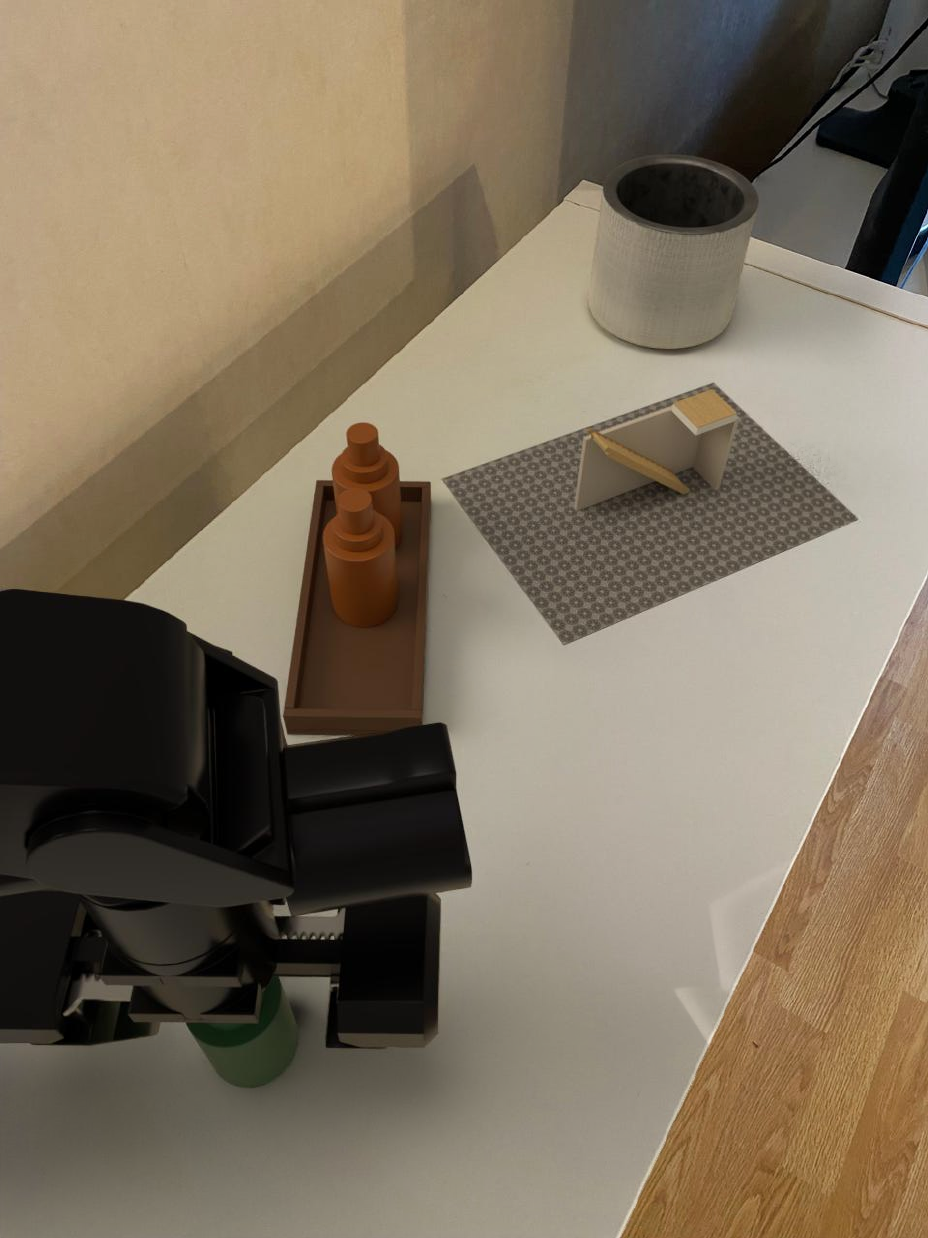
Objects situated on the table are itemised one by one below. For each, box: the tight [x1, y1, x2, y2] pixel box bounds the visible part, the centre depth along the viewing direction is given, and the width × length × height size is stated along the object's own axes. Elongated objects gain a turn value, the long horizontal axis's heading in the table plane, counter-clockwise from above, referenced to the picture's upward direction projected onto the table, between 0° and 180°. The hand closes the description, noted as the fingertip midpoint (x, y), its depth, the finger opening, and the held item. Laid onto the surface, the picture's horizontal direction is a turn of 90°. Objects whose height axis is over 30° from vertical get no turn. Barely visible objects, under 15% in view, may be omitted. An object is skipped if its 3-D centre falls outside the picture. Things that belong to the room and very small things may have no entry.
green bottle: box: [185, 977, 299, 1089], centre depth 47 cm, size 4×4×10 cm
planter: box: [587, 154, 760, 350], centre depth 85 cm, size 13×12×11 cm
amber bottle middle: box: [323, 488, 398, 627], centre depth 64 cm, size 4×4×10 cm
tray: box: [282, 479, 432, 736], centre depth 67 cm, size 20×8×2 cm, turn 0°
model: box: [573, 388, 740, 511], centre depth 72 cm, size 3×11×8 cm, turn 118°
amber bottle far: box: [331, 422, 403, 550], centre depth 68 cm, size 4×4×10 cm
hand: (245, 1024), depth 48 cm, fingers open, 8 cm apart
